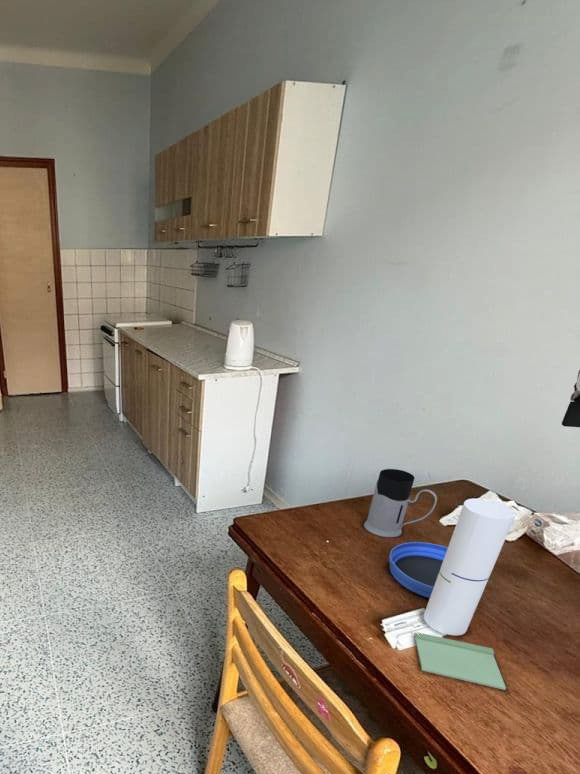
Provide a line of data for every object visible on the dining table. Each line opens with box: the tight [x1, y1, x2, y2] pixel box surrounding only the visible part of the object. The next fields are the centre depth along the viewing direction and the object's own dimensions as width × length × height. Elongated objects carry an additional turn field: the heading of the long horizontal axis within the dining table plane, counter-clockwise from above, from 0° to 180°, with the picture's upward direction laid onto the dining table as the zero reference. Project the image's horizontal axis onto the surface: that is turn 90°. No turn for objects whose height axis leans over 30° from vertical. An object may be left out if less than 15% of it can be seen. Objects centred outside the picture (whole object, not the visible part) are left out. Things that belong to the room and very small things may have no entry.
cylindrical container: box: [423, 498, 517, 636], centre depth 85 cm, size 7×7×25 cm
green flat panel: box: [413, 631, 507, 691], centre depth 82 cm, size 12×9×1 cm
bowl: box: [388, 541, 448, 599], centre depth 102 cm, size 18×18×4 cm
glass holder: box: [363, 468, 438, 538], centre depth 116 cm, size 9×14×15 cm, turn 39°
